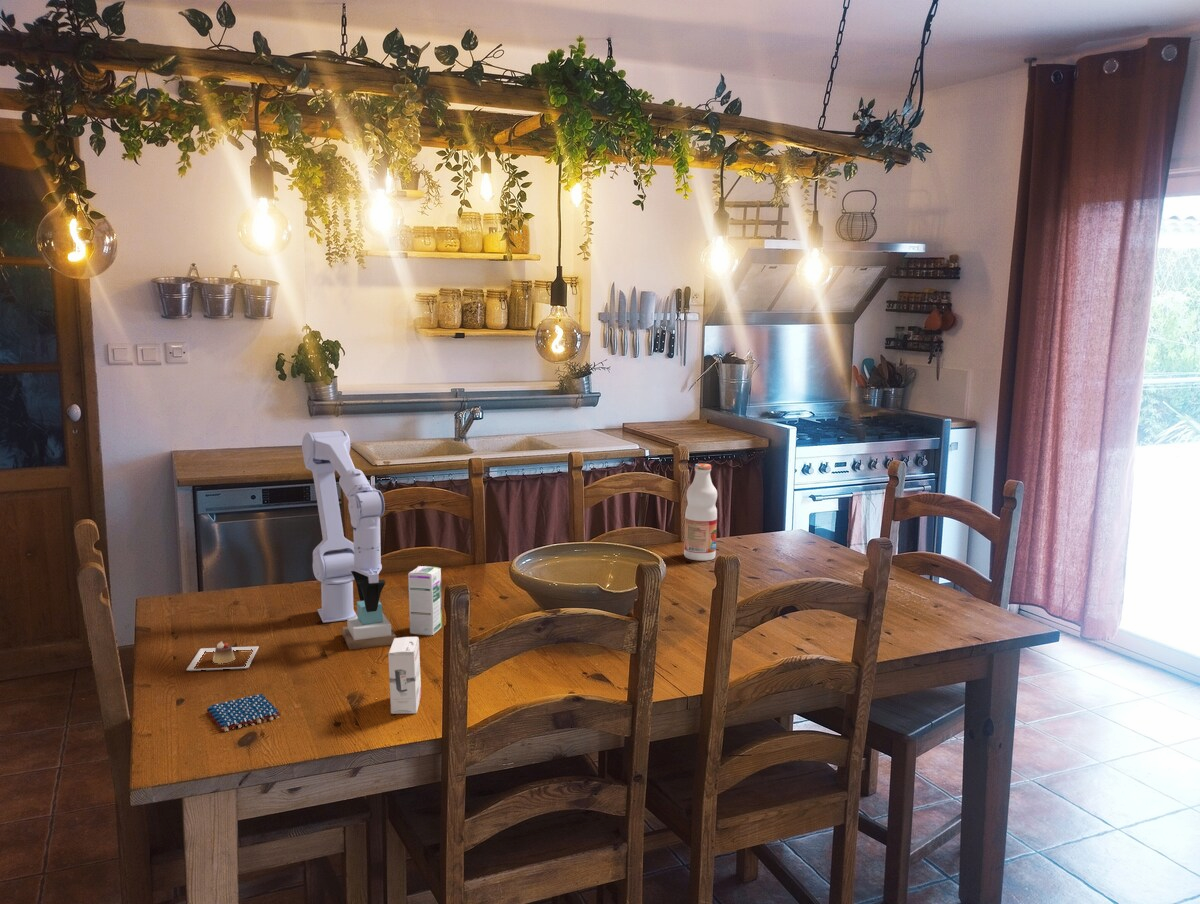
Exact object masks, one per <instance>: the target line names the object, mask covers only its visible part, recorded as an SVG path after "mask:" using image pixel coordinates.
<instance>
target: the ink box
mask: <svg viewBox="0 0 1200 904" xmlns="http://www.w3.org/2000/svg"><path fill="white" fill-rule="evenodd" d="M420 655H421V654H420V639H419V636H402V637H396V638H394V640H393V643H392V645H390V648H389V651H388V654H387V656H388V675H389V677H388V679H389V698H390V714H393V715H394V714H396V715H397V714H398V715H399V714H402V715H403V714H404V715H405V714H408V715H409V714H412V715H413V714H417V713H418V710H419V706H420V705H419V704H420V701H421V696H422V682H421V681H422V680H421V659H420V658H421V657H420Z"/></svg>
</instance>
